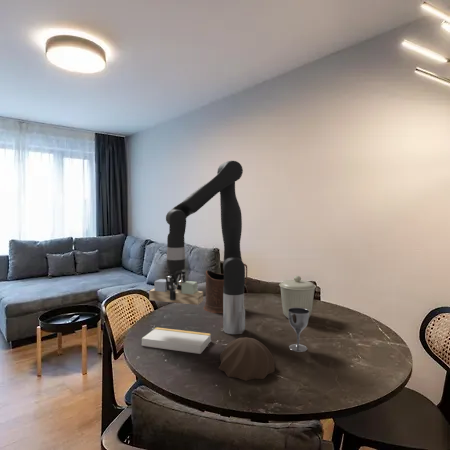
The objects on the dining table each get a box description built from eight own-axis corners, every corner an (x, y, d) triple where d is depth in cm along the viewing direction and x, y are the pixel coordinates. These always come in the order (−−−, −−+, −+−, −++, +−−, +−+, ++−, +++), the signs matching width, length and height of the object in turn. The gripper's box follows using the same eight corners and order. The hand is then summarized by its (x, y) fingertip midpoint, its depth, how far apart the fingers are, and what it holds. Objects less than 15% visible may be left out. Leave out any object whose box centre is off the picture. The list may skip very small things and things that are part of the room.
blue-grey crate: (170, 289, 140) (170, 279, 139) (165, 291, 135) (165, 282, 135) (160, 288, 141) (160, 278, 141) (154, 290, 136) (154, 281, 136)
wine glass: (296, 353, 124) (297, 314, 123) (283, 346, 131) (284, 309, 130) (312, 349, 127) (313, 311, 127) (299, 342, 134) (299, 306, 134)
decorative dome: (236, 387, 101) (236, 355, 101) (209, 360, 119) (209, 333, 118) (286, 372, 110) (286, 343, 110) (254, 349, 128) (254, 324, 127)
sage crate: (197, 291, 136) (197, 281, 136) (192, 294, 131) (192, 284, 131) (186, 290, 137) (186, 280, 137) (181, 293, 133) (181, 283, 132)
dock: (210, 341, 135) (210, 333, 135) (200, 353, 123) (200, 345, 123) (156, 334, 142) (156, 327, 142) (141, 345, 130) (141, 337, 130)
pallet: (203, 301, 136) (203, 291, 135) (198, 304, 130) (198, 294, 130) (155, 296, 142) (155, 287, 142) (149, 300, 137) (149, 290, 137)
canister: (323, 318, 163) (324, 277, 162) (297, 326, 153) (298, 281, 152) (296, 309, 178) (296, 271, 177) (271, 315, 168) (271, 274, 167)
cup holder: (206, 302, 191) (206, 259, 190) (248, 304, 188) (248, 260, 186) (200, 312, 173) (200, 265, 171) (245, 314, 169) (245, 266, 168)
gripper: (176, 260, 127) (176, 303, 128) (191, 255, 141) (191, 294, 142) (159, 259, 130) (159, 302, 131) (175, 255, 143) (175, 293, 144)
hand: (176, 297), depth 136 cm, fingers closed on pallet, 5 cm apart
